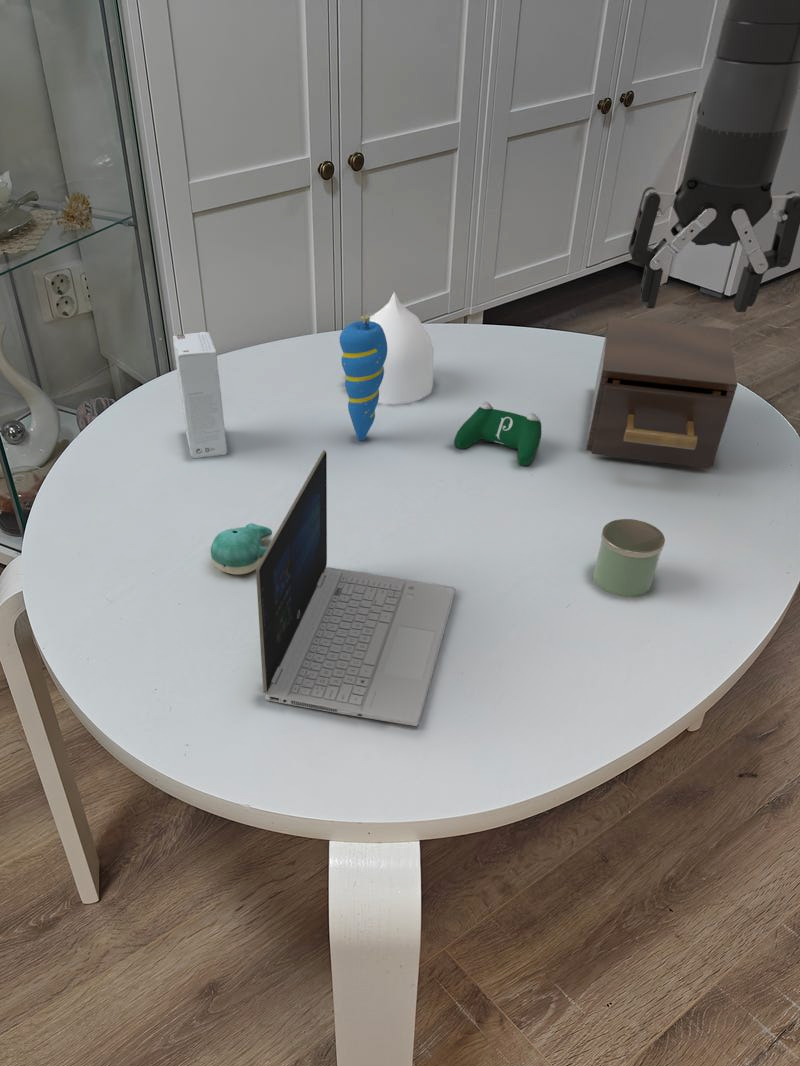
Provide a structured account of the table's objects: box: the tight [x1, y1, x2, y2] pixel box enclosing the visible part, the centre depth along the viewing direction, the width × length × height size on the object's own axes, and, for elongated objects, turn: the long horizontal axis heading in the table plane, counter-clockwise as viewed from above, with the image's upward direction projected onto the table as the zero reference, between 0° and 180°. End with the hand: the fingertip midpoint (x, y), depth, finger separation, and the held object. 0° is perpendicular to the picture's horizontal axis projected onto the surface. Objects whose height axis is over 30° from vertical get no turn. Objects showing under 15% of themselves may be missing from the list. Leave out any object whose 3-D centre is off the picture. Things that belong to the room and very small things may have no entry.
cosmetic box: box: [172, 331, 228, 459], centre depth 100 cm, size 6×4×12 cm
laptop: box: [255, 449, 456, 727], centre depth 73 cm, size 18×12×13 cm
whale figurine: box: [210, 523, 273, 575], centre depth 86 cm, size 6×7×4 cm
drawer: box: [591, 378, 730, 469], centre depth 100 cm, size 19×12×8 cm, turn 164°
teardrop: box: [369, 291, 435, 405], centre depth 112 cm, size 11×11×12 cm
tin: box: [592, 518, 666, 598], centre depth 82 cm, size 5×5×5 cm
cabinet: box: [585, 317, 738, 467], centre depth 104 cm, size 16×14×10 cm
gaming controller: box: [453, 401, 542, 467], centre depth 102 cm, size 9×4×6 cm
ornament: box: [339, 309, 387, 442], centre depth 100 cm, size 5×5×15 cm
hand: (693, 307), depth 88 cm, fingers open, 8 cm apart
